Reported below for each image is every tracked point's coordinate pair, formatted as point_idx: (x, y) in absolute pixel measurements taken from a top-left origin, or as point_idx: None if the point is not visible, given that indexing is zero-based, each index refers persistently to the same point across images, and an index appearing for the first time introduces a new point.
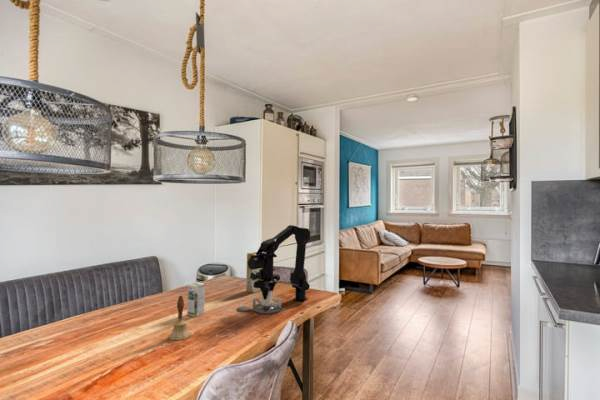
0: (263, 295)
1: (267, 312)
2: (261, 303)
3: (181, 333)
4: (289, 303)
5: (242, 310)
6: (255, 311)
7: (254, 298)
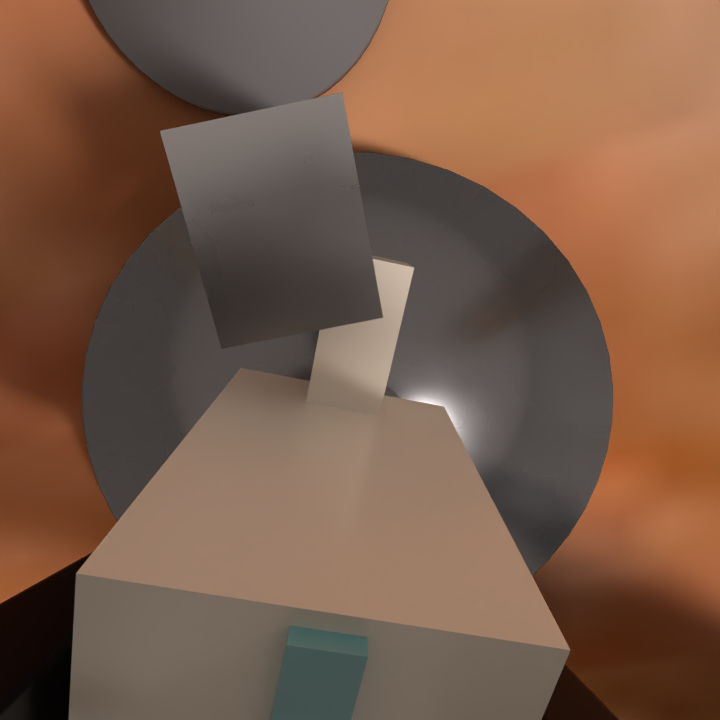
0: (43, 604)
1: (106, 493)
2: (236, 381)
3: None
4: (657, 677)
5: None
6: (135, 261)
7: (307, 148)
